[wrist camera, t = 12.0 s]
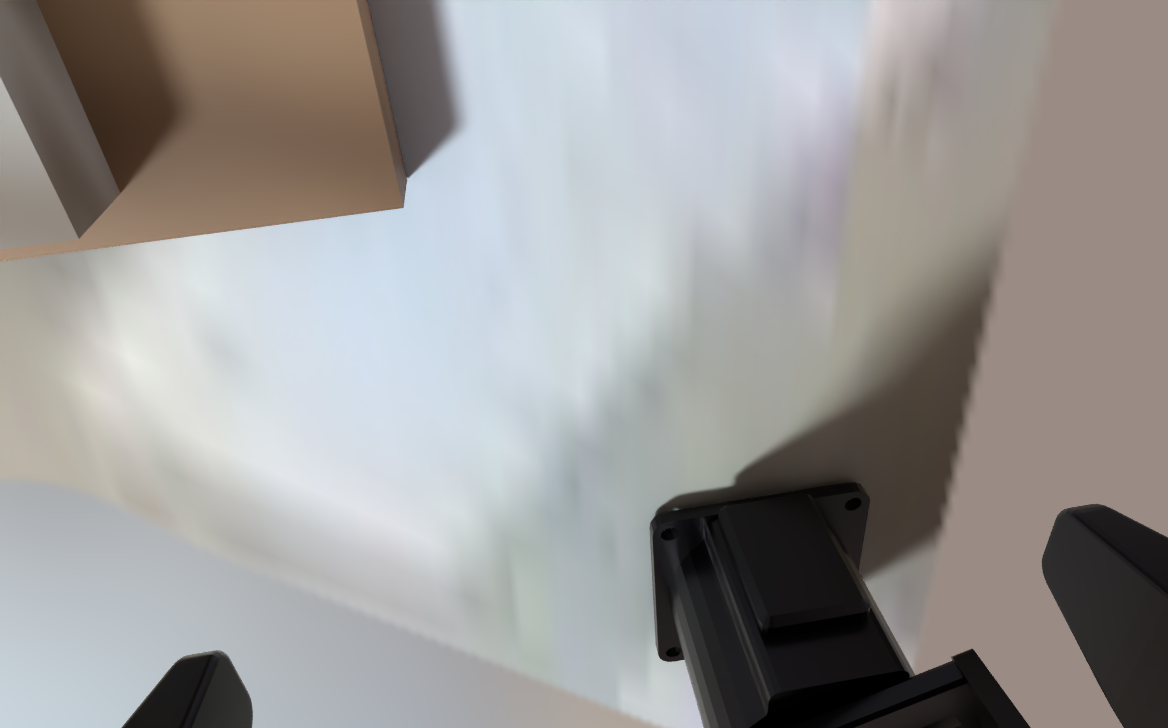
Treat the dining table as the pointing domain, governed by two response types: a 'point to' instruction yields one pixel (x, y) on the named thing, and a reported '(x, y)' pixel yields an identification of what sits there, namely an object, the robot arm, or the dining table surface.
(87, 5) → the cleat board
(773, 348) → the dining table surface
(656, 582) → the robot arm
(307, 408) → the dining table surface
